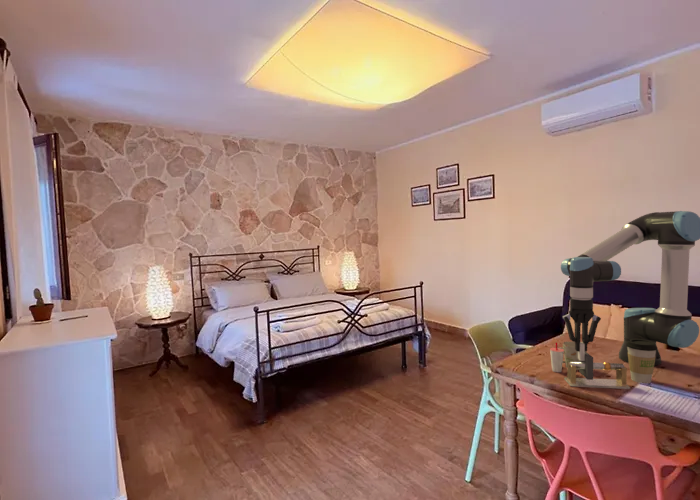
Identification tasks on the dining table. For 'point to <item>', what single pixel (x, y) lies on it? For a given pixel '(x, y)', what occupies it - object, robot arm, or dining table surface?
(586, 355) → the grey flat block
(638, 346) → the coffee cup
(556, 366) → the cup
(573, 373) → the metal rod stand
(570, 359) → the mug
